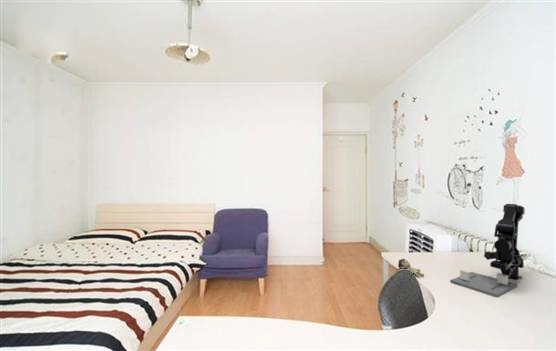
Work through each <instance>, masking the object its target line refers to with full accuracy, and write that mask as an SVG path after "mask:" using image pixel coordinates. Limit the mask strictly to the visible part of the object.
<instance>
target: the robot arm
mask: <svg viewBox="0 0 556 351" xmlns="http://www.w3.org/2000/svg"><path fill="white" fill-rule="evenodd" d="M502 210H503V211H502V212H503V216H502V219H499V220H498V221H497V224H495V229H494V235H493V236H494V238H497V240H496V241H495V242H494V244H493V246H494V249H495V251H484V254H483V257H484V258H486V260H488V261H489V260H492V261H491V262H490V265H489V266H490V268H494V269H498V270H500V272H501V274H504V275H508V279H512V280H515V281H517V280H519V279H521V278H522V276H521V275H520V272H519V268H520V269H522V268H524V267H525V264H524V259H523V258H522V256H521V252H520V251H519V250H518V236H519V233H518V232H519V223H520V221H522V219H523V218H524V215H525V210H526V209H525V207H524V206H522V205H518V204H516V203H505V205H503V209H502Z"/></svg>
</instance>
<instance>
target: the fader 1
mask: <svg viewBox="0 0 556 351" xmlns="http://www.w3.org/2000/svg"><path fill="white" fill-rule="evenodd" d="M459 272H460V273H459V274H460V276H459V277H460V279H463V280H467V281H469V280H470V272H471V271H468V270H465V269H460V270H459Z"/></svg>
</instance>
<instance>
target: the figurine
mask: <svg viewBox="0 0 556 351" xmlns="http://www.w3.org/2000/svg"><path fill="white" fill-rule="evenodd" d="M397 266H398V268H399V270H401V269H409V270H411V271H412V272H413V273H414V274H415V275H416V277H417V278H419V279H420V278H424V277H425V274H424V273H422V272H421V269H419V268H414V267H413V266H411V264H410V262H409V261H408V260H407V259H405V258H401V259H399V260H398V265H397ZM414 274H413V275H414ZM415 275H414V276H415Z"/></svg>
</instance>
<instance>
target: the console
mask: <svg viewBox="0 0 556 351" xmlns="http://www.w3.org/2000/svg"><path fill="white" fill-rule="evenodd" d="M469 272H470V280H469V281H467V280H463V279H460V276H458V277H455V278H452V279H450V280H449V282H450V283H451V284H454V285H457V286H460V287H464V288H467V289H470V290H473V291H476V292H478V293H481V294H485V295H488V296H491V297H494V298H499V297H501V296H503V295H504V294H507V293H509V292H511V291H513V290H515V289H517V288H518V287H519V285H518V283H515V282H514V283H513V282H510V281H508V284H507V285H505V284H501V283H497V277H492V276H491V275H486V274H481V273H478V272H474V271H469Z"/></svg>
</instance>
